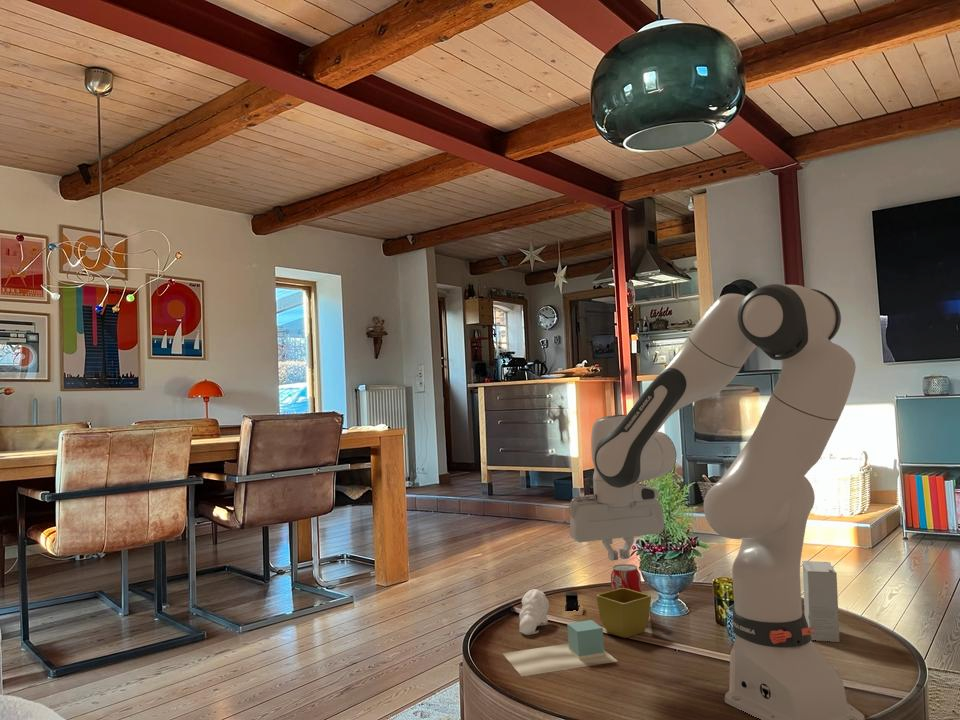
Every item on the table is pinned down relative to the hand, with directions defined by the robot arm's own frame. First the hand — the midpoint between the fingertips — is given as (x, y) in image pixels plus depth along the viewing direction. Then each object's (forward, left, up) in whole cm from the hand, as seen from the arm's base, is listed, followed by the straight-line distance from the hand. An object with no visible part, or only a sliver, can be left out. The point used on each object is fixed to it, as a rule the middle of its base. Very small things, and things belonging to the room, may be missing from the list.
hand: (619, 559), depth 150 cm
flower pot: (+9, -4, -19) cm, 22 cm away
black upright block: (+31, -1, -20) cm, 37 cm away
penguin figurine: (+20, +14, -19) cm, 31 cm away
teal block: (0, +9, -18) cm, 20 cm away
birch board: (0, +15, -19) cm, 24 cm away
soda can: (+20, -10, -19) cm, 29 cm away
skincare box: (-7, -42, -19) cm, 47 cm away
